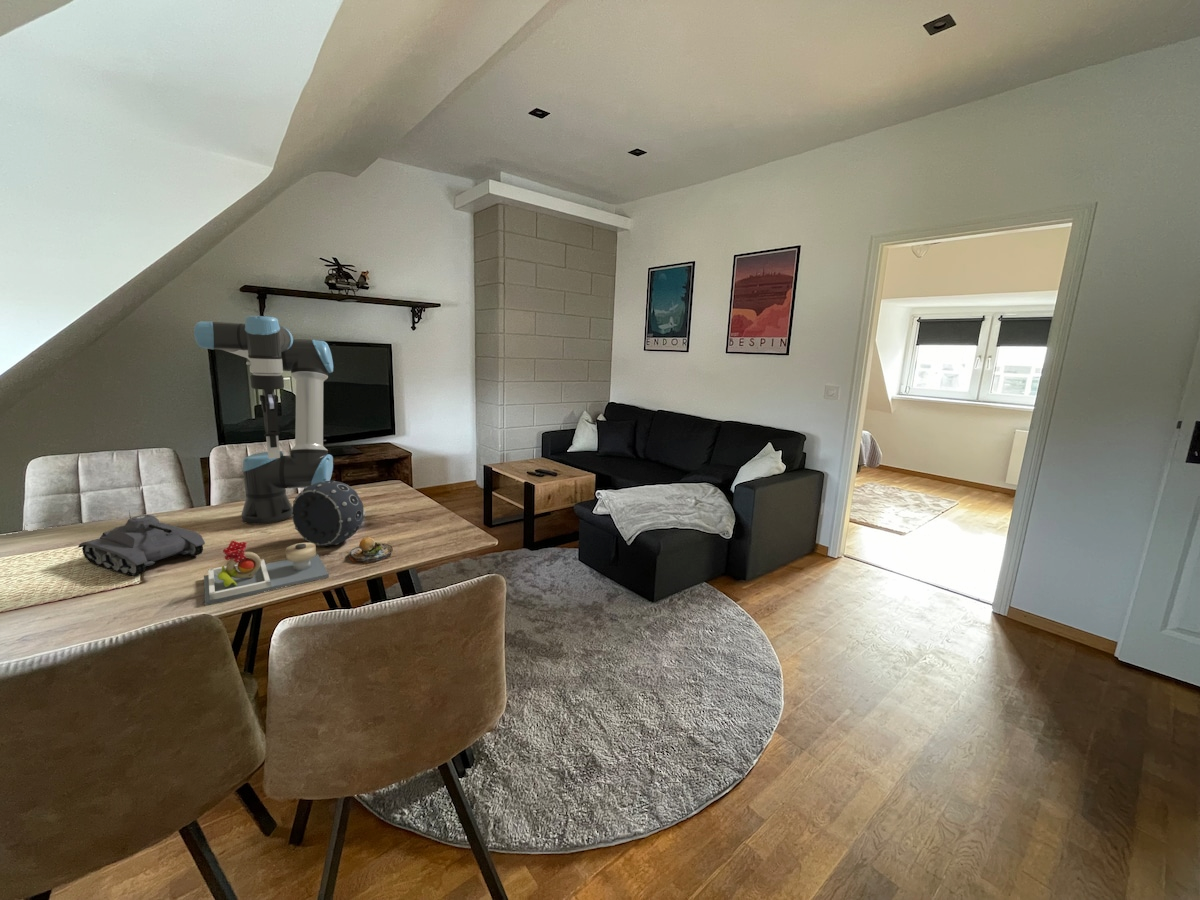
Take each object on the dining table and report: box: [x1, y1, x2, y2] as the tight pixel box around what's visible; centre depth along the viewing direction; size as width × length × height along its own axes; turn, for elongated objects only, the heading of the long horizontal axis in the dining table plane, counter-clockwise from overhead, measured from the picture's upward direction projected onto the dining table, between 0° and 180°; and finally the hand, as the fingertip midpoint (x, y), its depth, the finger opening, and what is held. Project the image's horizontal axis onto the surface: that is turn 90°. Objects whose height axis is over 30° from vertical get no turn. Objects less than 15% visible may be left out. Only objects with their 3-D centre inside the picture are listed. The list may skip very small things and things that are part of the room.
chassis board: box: [203, 552, 330, 606], centre depth 127 cm, size 16×26×4 cm, turn 129°
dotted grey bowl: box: [291, 480, 365, 547], centre depth 150 cm, size 11×20×20 cm, turn 78°
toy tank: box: [77, 511, 206, 576], centre depth 134 cm, size 18×25×15 cm
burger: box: [348, 535, 393, 565], centre depth 144 cm, size 12×12×8 cm
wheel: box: [285, 542, 317, 562], centre depth 131 cm, size 7×7×3 cm
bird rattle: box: [218, 540, 261, 587], centre depth 123 cm, size 6×11×9 cm
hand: (274, 457), depth 136 cm, fingers closed
